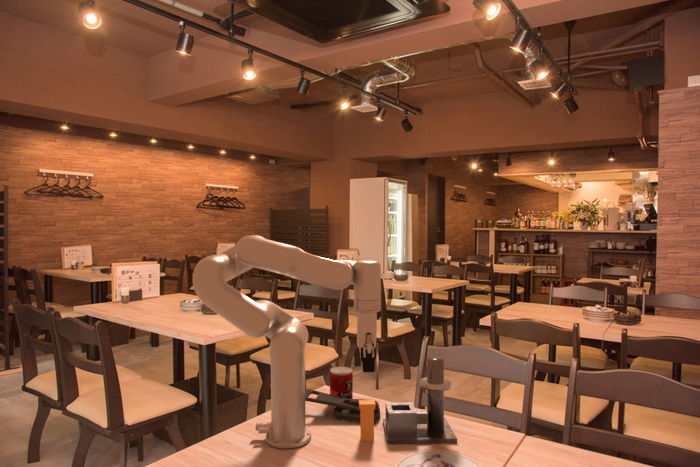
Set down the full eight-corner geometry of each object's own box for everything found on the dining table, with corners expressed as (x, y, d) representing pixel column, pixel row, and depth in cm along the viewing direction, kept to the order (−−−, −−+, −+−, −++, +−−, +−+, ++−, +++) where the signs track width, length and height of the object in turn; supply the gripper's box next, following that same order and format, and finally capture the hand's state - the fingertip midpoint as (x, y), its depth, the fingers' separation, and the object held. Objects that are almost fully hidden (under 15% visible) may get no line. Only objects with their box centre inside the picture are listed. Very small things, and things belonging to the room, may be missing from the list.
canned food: (340, 408, 151) (340, 375, 151) (325, 401, 157) (324, 369, 157) (357, 402, 156) (357, 370, 156) (341, 396, 162) (341, 365, 162)
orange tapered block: (359, 441, 127) (359, 404, 127) (359, 437, 130) (359, 400, 130) (375, 441, 127) (375, 404, 127) (374, 436, 130) (374, 400, 130)
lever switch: (387, 444, 126) (387, 366, 126) (382, 422, 140) (382, 352, 140) (457, 443, 127) (457, 365, 126) (445, 421, 141) (445, 352, 140)
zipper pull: (306, 387, 152) (381, 392, 147) (306, 407, 152) (381, 413, 147) (298, 397, 143) (378, 403, 139) (298, 418, 143) (378, 425, 139)
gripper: (352, 300, 137) (352, 357, 137) (355, 310, 120) (355, 376, 120) (378, 300, 137) (378, 357, 137) (383, 310, 120) (384, 376, 120)
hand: (367, 366), depth 129 cm, fingers open, 9 cm apart
